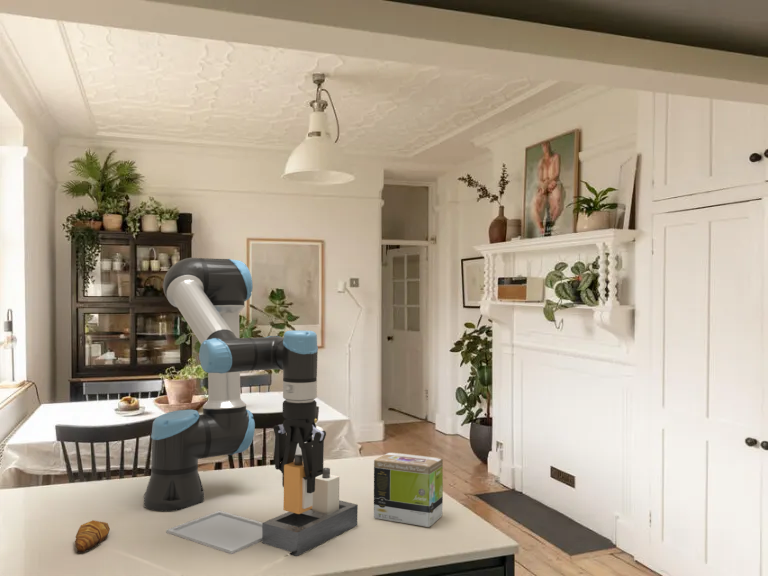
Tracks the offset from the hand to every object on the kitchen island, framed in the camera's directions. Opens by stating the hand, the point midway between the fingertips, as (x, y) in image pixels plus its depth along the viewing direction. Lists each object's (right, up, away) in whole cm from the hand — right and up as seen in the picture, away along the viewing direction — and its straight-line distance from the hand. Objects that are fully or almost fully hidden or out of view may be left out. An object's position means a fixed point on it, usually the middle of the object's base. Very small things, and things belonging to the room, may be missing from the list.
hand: (298, 504), depth 143 cm
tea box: (+25, -9, +17) cm, 32 cm away
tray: (-17, -8, +4) cm, 20 cm away
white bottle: (-3, -9, +47) cm, 48 cm away
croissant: (-45, -8, -2) cm, 46 cm away
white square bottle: (+5, -6, +8) cm, 12 cm away
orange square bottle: (0, -1, 0) cm, 1 cm away
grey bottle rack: (+3, -8, +4) cm, 10 cm away
